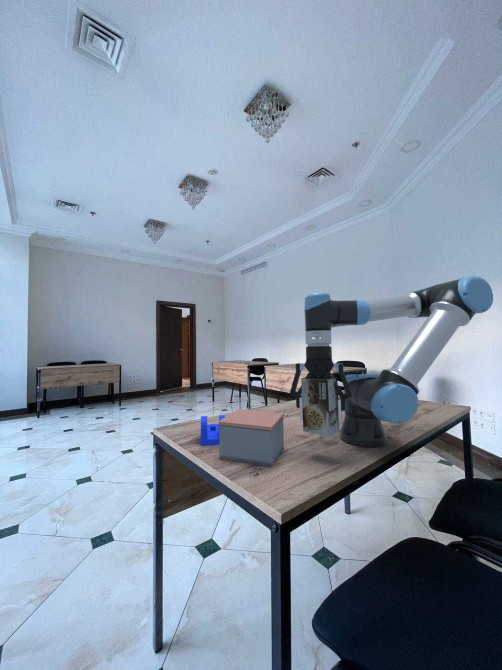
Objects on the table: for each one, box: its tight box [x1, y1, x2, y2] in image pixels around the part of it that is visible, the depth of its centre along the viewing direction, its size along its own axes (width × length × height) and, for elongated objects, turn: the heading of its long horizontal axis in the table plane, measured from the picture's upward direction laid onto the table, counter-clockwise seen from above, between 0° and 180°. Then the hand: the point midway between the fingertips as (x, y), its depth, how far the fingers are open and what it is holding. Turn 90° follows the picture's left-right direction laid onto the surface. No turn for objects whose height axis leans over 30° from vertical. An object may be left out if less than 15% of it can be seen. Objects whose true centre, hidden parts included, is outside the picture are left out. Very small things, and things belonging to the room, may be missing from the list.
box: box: [219, 417, 285, 468], centre depth 86 cm, size 16×14×10 cm
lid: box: [218, 408, 285, 431], centre depth 86 cm, size 16×14×1 cm
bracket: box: [200, 414, 226, 447], centre depth 103 cm, size 18×8×9 cm, turn 8°
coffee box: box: [300, 376, 341, 438], centre depth 82 cm, size 9×6×16 cm
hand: (320, 420), depth 82 cm, fingers closed on coffee box, 10 cm apart
